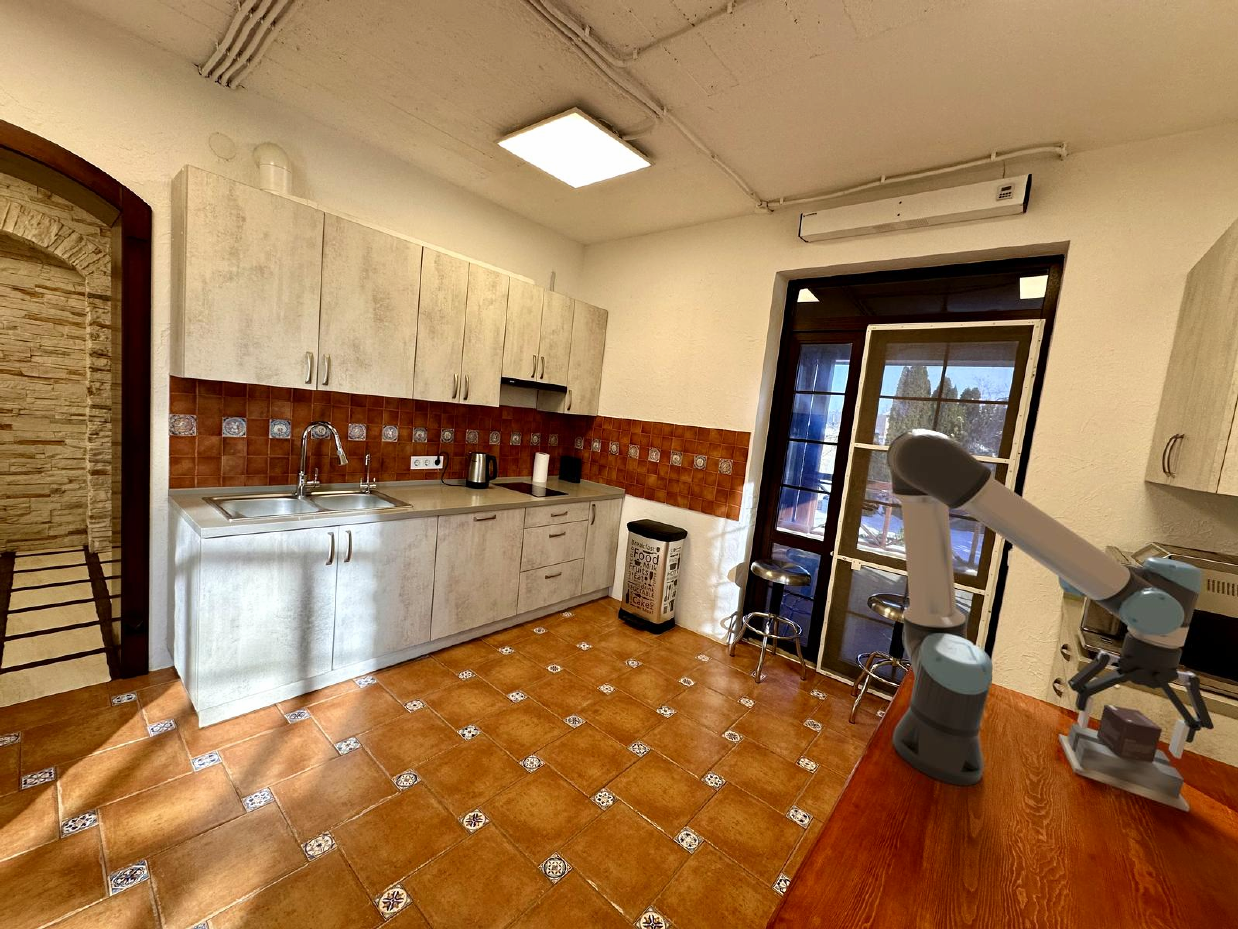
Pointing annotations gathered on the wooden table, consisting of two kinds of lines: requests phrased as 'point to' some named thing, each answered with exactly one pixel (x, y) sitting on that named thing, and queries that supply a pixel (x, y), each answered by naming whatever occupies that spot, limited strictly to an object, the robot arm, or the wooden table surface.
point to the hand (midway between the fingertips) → (1126, 739)
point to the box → (1129, 733)
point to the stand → (1123, 768)
